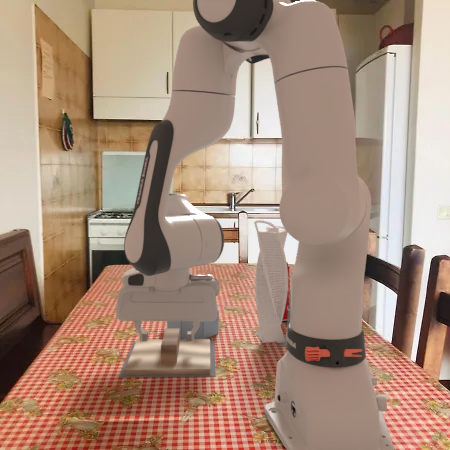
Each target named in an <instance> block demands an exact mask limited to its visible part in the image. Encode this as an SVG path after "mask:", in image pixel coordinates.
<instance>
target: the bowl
mask: <svg viewBox="0 0 450 450" xmlns="http://www.w3.org/2000/svg"><path fill="white" fill-rule="evenodd" d="M219 313H220V311H219V304H218V303H217V318H216V319H215V320H214V321H200V327H199V328H198V330H197V331H196V333H195V334H194V339H208V338H211V337H212V336H216V335H219V327H220V326H219V323H220V322H219V319H220V318H219V316H220V315H219ZM193 327H194V326H193V321H166V328H180V339H187V331H191V330H192V329H193Z"/></svg>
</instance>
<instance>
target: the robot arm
mask: <svg viewBox="0 0 450 450" xmlns="http://www.w3.org/2000/svg"><path fill="white" fill-rule="evenodd" d="M192 7H193V8H192V9H193V13H194V16H195V20H196V21H197V23H198V24H199V25H197V26H194V27H191V28H189V29H188V30H186V31H185V32H184V33H183V34H182V36H181V37H180V40H179V43H178V48H177V51H176V56H175V59H174V65H173V73H172V83H171V95H170V96H171V97H170V100H169V101H170V102H169V105H168V108H167V110H166V113H165V115H164V117H163V118H162V120H161V121H159V122H158V123H156V124H155V125H154V127H153V128H152V130H151V133H150V136H149V138H148V141H147V142H148V143H147V146H146V149H145V154H144V158H143V163H142V169H141V173H140V179H139V183H138V187H137V192H136V199H135V203H134V207H133V211H132V215H131V218H130V221H129V224H128V227H127V229H126V232H125V235H124V241H123V249H124V255H125V258H126V260H127V262H128V263H129V265H130V266H132V267H131V268H129V269H127V270H126V271H125V272H124V274H123V275H122V278H121V284H122V286H121V287H120V289H119V291H118V294H117V298H116V304H115V305H116V306H115V317H116V318H117V319H118V320H119V322H133V327H134V328H135V330H136V332H137V333H138V335H139V339H140V342H147V341H148V339H149V330H144V329H143V327H142V324H143V322H167V321H193V326H194V327H193V329H192V330H191V331H187V342H194V334H195V333H196V331H197V330H198V328H199V327H200V321H214V320H215V319H216V318H217V304H218V302H217V301H218V300H217V296H218V295H219V293H220V288H221V287H220V285H221V284H220V281H219V280H218V278H216V277H214V276H213V275H212V274H205V275H203V274H191V268H193V267H195V268H196V267H200V266H207V265H210V264H212V263H213V264H214V263H215V262H217V261H218V260H219V259H220V258H221V256H222V253H223V250H224V246H225V235H224V233H225V232H224V230H223V228H222V225H221V223H220V222H219V220H218V219H217V218H215V217H214V216H212V215H210V214H209V215H208V214H206V213H204V212H203V211H201V210H200V209H198V208H196V207H195V206H194V205H193V204H192V203H191V201H190V197H188V195H186V194H183V193H178V192H177V193H175V192H174V193H170V192H171V187H172V181H173V177H174V173H175V171H176V169H177V167H178V166H179V164H180V163H182V161H183V160H185V159H186V158H188V157H189V156H190V155H193V154H194V153H196V152H199V151H202V150H204V149H206V148H209V147H211V146H213V145H214V144H216V143H217V142H219V141H221V140H222V139H223V138H224V137H225V136H226V134H227V133H228V132H229V131H230V129H231V127H232V124H233V120H234V115H235V106H236V105H235V104H236V91H237V78H238V72H239V69H240V68H241V65H242V64H243V63H244V62H248V63H249V64H251V65H253V64H257V63H259V62H262V61H265V60H268V59H270V63H271V68H272V69H271V70H272V75H273V84H274V91H275V97H276V103H277V104H276V105H277V111H278V119H279V124H280V125H279V126H280V133H281V196H280V197H281V198H280V202H279V207H278V208H279V209H278V210H279V211H278V212H279V218H280V221H281V224H282V227H284V228H285V229H286V231H287V232H288V233H287V234H288V235H289V236H291V237H292V238H293V239H295V240H296V241H298V246H297V252H296V257H295V262H294V266H293V270H292V274H291V276H290V295H291V307H290V323H289V325H288V327H287V326H286V335H285V336H286V340H287V346H286V349H287V351H286V353H284V355H283V356H282V357H280V359H279V360H278V361H277V362H276V373H275V386H274V387H275V388H274V389H275V391H274V400H273V401H270V402H269V403H268V402H267V403H266V404H265V405H264V408H263V412H264V416H265V417H266V419H267V421H268V422H269V424H270V425H271V427H272V428H273V430H274V432H275V434H276V435H277V437H278V439H279V440H280V441H281V443H282V445H283V447H285V449H286V450H395V448H394V444H393V442H392V438H391V435H390V433H389V428H388V425H387V422H386V419H385V416H384V412H386V411H387V410H388V409H387V407H388V401H387V396H386V395H385V394H376V392H375V387H376V386H377V385H378V379H377V376H373V375H371V372H370V367H369V366H370V365H369V364H370V363H369V360H368V359H367V358H366V357H367V355H366V354H367V353H366V348H367V347H366V338H365V332H364V329H363V309H364V307H363V306H364V305H363V304H364V301H363V300H364V284H365V282H364V281H365V274H366V273H365V272H366V264H367V256H368V255H367V254H368V247H369V246H368V245H369V235H370V224H371V211H372V196H371V193H370V189H369V187H368V185H367V184H366V182H365V181H364V180H363V179H362V178H361V177H360V176H359V175H358V161H357V143H356V142H357V141H356V118H355V111H354V103H353V97H352V89H351V83H350V82H351V80H350V76H349V75H350V74H349V68H348V63H347V61H348V60H347V56H346V53H345V48H344V47H345V45H344V42H343V39H342V36H341V32H340V29H339V25H338V23H337V21H336V20H337V19H336V18H335V17H336V16H335V14H334V12H333V11H332V9H331V8H330V7H329V6H328V5H327V4H325V3H323V2H321V1H318V0H299V1H295V0H192Z"/></svg>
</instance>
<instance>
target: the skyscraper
mask: <svg viewBox="0 0 450 450" xmlns="http://www.w3.org/2000/svg"><path fill="white" fill-rule="evenodd" d="M258 223H260V224H261V223H262V224H266V225H267V226H266V227H265V228H266V229H261V230H259V227H258ZM254 226H255V229H256V231H255V232H256V236H257V240H258V241H257V242H258V247H259V253H258V256H257V257H258V258H257V261H256V262H257V263H256V270H255V279H254V280H255V282H254V283H255V284H254V285H255V287H254V289H255V290H254V291H255V306H256V313H257V320H258V321H257V322H258V329H257V331H256V334H255V336H257V338H259V340H260V341H261V343H262V344H264V343H271V344H272V343H273V342H276V343H277V345H278V347H280V348H281V347H287V340H286V335H285V334H284V333H283V330H282V329H283V328H282V326H281V325H282V323H283V321H282V319H283V315H284V311H285V306H286V300H287V292H288V269H287V258H286V254H285V244H286V240H287V235H288V234H289V233H288V232H287V231H286V229H285V228H284V226H280V225H274V224H273V223H272V222H269V221H265V220H261V219H260V220H255V221H254ZM289 299H290V301H289V309H288V320H287V326H286V328H287V327H288V325H289V323H290V307H291V294H290V298H289Z"/></svg>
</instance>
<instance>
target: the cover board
mask: <svg viewBox="0 0 450 450" xmlns="http://www.w3.org/2000/svg"><path fill="white" fill-rule="evenodd" d="M135 342H136V344H135V346H134V348H133V351H132V353H131V356H130V358H129V360H128V363H127V365H126V368H125V375H171V374H210V342H211V339H210V338H205V339H194V342H187V339H180V328H167V327H166V328H165V329H164V332H163V337H162V338H161V339H160V338H157V339H156V338H155V339H149V338H148V341H147V342H140V338H138V339H136V341H135Z"/></svg>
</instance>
